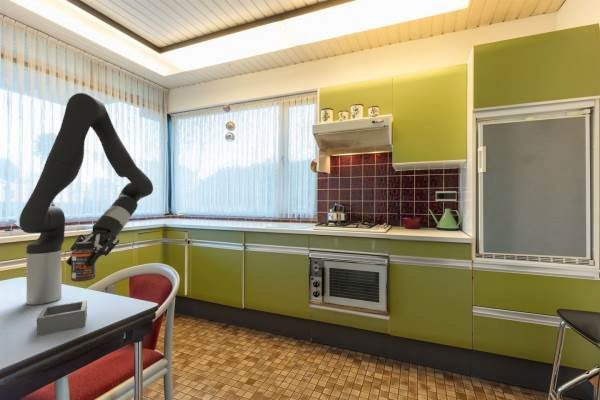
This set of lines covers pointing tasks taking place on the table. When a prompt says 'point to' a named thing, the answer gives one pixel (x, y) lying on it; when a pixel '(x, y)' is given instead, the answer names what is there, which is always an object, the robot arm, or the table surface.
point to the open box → (62, 317)
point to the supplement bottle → (82, 262)
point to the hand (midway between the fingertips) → (78, 264)
